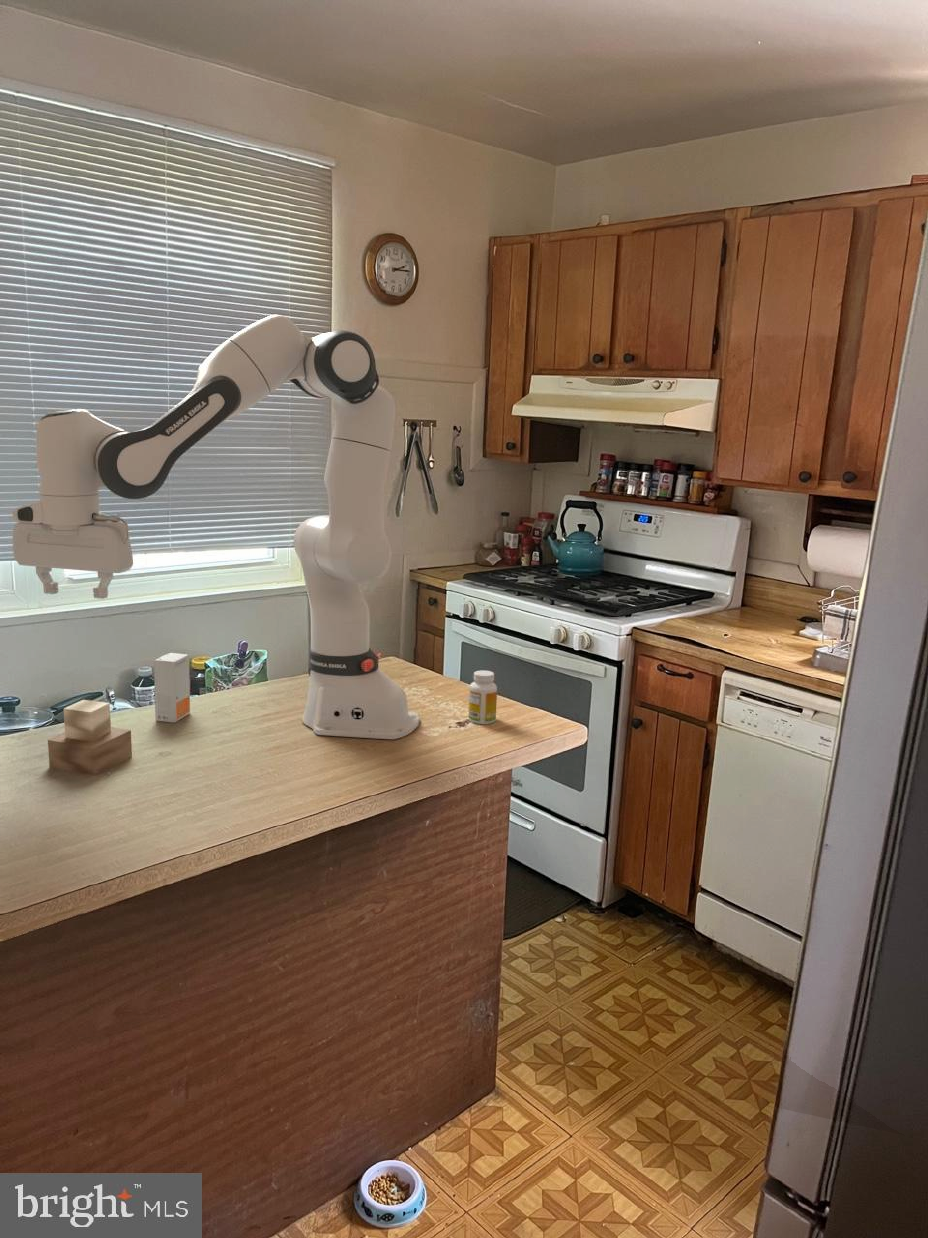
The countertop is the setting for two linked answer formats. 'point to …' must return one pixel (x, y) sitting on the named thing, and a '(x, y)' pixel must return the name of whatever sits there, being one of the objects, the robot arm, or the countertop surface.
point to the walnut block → (90, 752)
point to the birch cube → (87, 720)
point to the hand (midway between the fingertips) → (75, 595)
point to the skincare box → (172, 687)
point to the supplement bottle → (483, 698)
